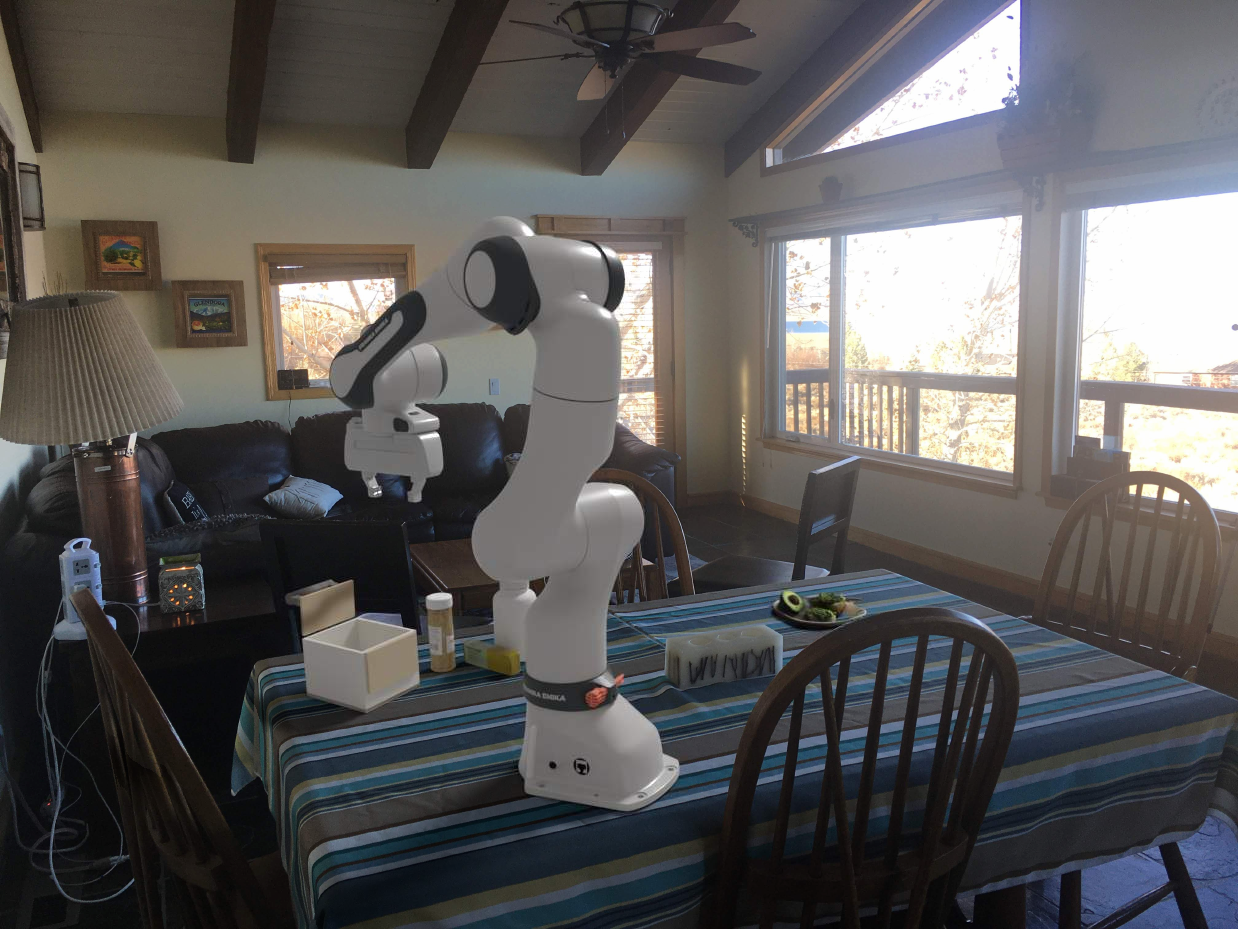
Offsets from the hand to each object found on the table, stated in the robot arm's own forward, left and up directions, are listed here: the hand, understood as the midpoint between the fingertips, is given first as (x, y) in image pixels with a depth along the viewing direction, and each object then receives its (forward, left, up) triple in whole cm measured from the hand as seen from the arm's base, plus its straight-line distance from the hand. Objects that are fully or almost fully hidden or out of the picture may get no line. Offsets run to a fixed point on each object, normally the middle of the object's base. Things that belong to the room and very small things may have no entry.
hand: (394, 499), depth 159 cm
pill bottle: (-13, -15, -31) cm, 37 cm away
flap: (+7, +10, -18) cm, 21 cm away
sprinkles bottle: (-5, -4, -31) cm, 32 cm away
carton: (0, +10, -31) cm, 33 cm away
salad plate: (-53, -62, -32) cm, 88 cm away
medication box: (-12, -9, -32) cm, 35 cm away
